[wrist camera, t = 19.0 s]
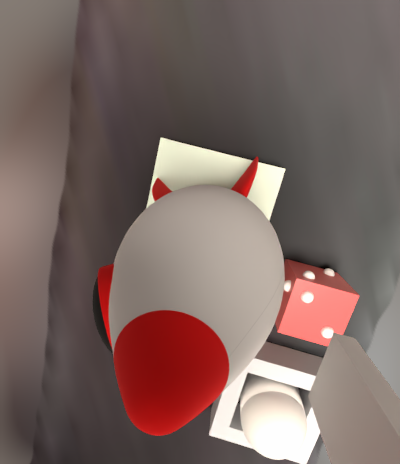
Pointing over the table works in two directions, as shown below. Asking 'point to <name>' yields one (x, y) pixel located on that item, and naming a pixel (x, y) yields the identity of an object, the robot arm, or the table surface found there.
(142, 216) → the rocket
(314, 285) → the red die
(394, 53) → the table surface
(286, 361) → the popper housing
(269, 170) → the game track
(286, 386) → the dome
